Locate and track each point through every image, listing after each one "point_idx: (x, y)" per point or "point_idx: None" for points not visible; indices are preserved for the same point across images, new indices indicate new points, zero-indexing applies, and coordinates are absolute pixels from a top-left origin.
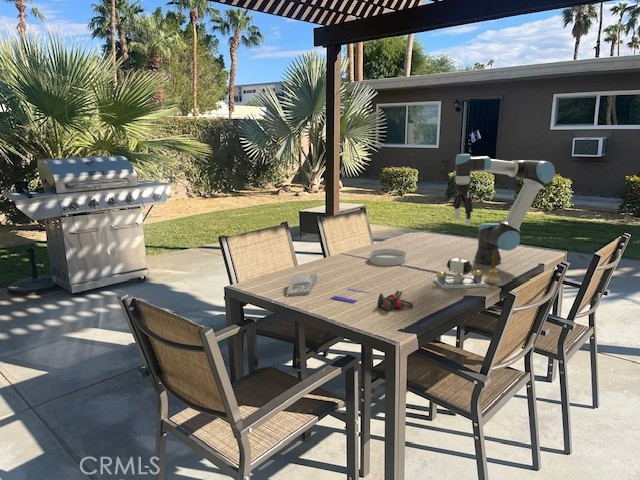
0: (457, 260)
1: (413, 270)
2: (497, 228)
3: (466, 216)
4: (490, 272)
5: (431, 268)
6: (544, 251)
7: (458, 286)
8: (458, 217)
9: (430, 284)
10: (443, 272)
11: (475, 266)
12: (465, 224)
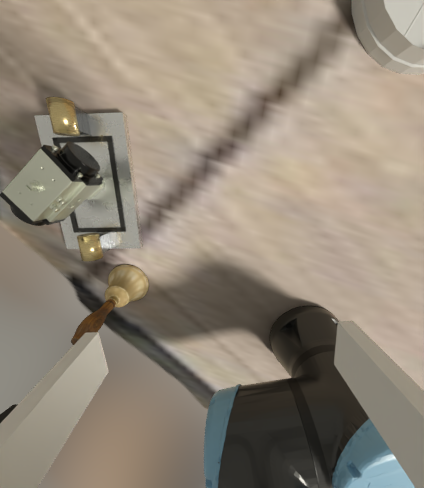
0: (33, 177)
1: (255, 70)
2: (286, 474)
3: (3, 435)
4: (110, 286)
5: (268, 150)
6: None
7: None
8: (354, 378)
9: (85, 89)
10: (53, 122)
11: (263, 290)
12: (84, 336)
